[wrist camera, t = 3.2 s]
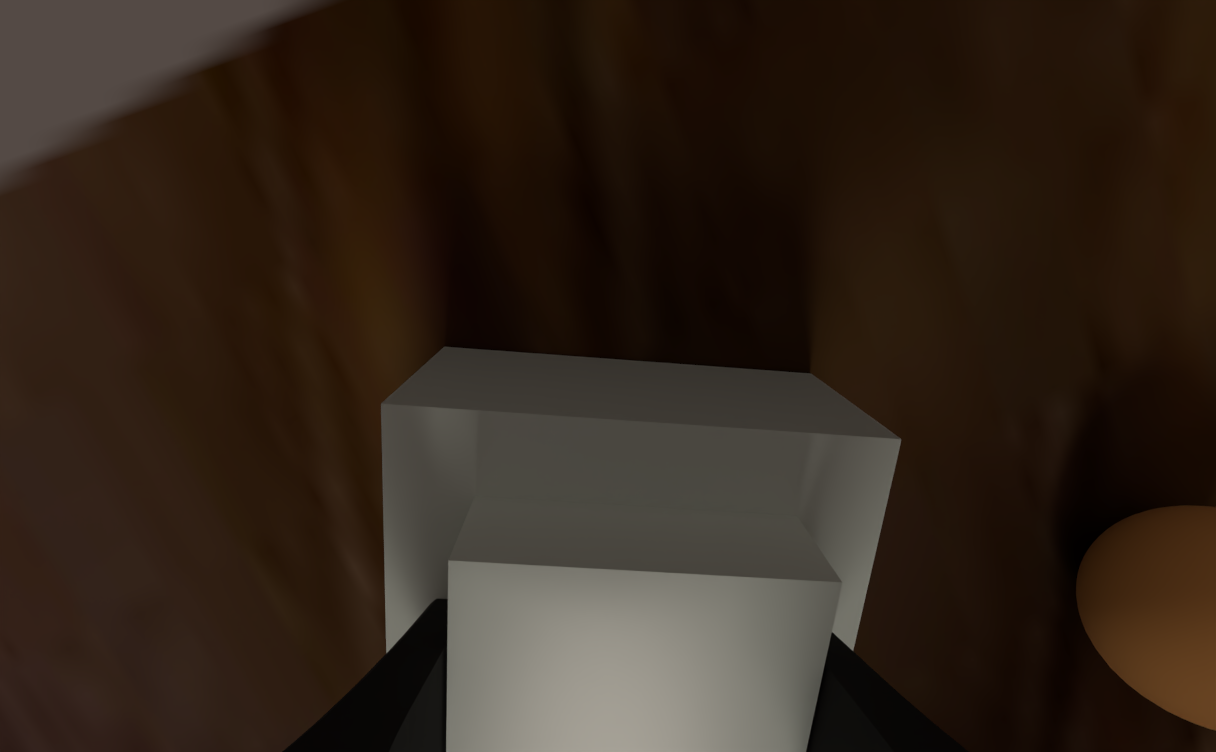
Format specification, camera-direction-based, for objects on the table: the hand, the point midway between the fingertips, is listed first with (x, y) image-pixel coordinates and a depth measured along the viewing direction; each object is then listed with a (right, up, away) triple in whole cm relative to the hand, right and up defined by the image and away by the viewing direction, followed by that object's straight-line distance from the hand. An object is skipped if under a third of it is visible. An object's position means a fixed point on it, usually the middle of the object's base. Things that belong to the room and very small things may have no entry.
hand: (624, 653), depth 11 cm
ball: (+14, 0, +3) cm, 14 cm away
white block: (0, +1, +5) cm, 5 cm away
